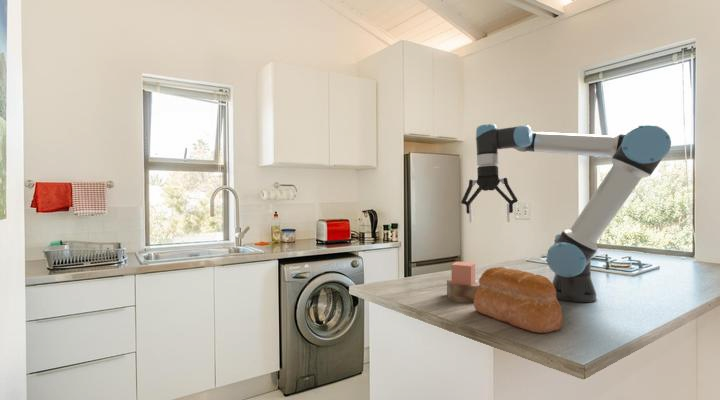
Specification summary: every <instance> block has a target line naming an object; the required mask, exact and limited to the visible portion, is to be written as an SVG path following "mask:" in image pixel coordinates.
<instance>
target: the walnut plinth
mask: <svg viewBox="0 0 720 400" xmlns="http://www.w3.org/2000/svg"><path fill="white" fill-rule="evenodd" d="M478 287H479V283H477V282H476V281H475V282H474V283H473V284H472V285H471V286H469V285H459V284H452V279H446V295H447V296H446V297H447V298H448V300H449V302H451V303H474V298H475V293H476V290H477V288H478Z"/></svg>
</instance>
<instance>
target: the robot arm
mask: <svg viewBox="0 0 720 400" xmlns="http://www.w3.org/2000/svg"><path fill="white" fill-rule="evenodd" d="M475 130H476V131H475V132H476V133H475V136H476V137H475V143H476V144H475V145H476V165H477V166H478V167H477V179H469V180H468V186H467V188H466V191H465V193H464V195H463V197H462V199H461V202H460V203H461V204H462V205H465V206H466V209H465V210H466V211H465V213H466V214H468V215H469V217H468V218H469V223H473V221H474V217H473V216H474V215H473V205H471V204H472V203H473V201H474V200H475V199H476V198H477V196H478V195H479V194H480V193H481V192H482V191H484V192H487V191H497V193H498V194H499V195H500V196H501V197H503V199H504V200H505V201H506V202H507V203H508V204H506V217H507V218H506V220H507V223H511V214H512V213H514V206H513V205H514V204H515V203H517V202H519V200H518V197H517V196H516V194H515V193H514V191H513V189H512V188H511V186H510V184H509V180H508V178H507V177H504V178H500V177H499V166H498V165H499V153H498V150H503V149H505V150H506V149H514V150H517V151H519V152H524V153H525V152H532V153H533V152H535V153H549V154H559V155H560V154H561V155H574V156H585V157H586V156H587V157H599V158H611V162H612V165H611V166H612V167H611V168H610V170H609V171H608V173H607V174H606V176H605V177H604V178H603V180H602V181H601V183H600V184H599V185H598V187H597V188H596V190H595V192H593V194H592V196H591V197H590V199H589V201H588V202H587V204H586V205H585V206H584V207H583V209H582V211H581V212H580V213H579V215H578V217H577V218H576V219H575V220H574V222H573V223H572V226H571V227H570V228H567V229H563V230H562V231H561V233H559V234H555V236H554V244H552V245H551V246H550V247H549V249H547V252H546V263H547V265H548V267H549V268H550V270H551V271H552V272H554V276H553V279H552V281H551V283H552V284H553V285H554V287H555V289H556V298H557V300H560V301H567V302H575V303H591V302H592V303H593V302H596V301H597V292H596V289H595V286H594V284H593V280H592V274H591V271H592V270H591V268H592V267H591V265H592V261H591V260H592V258H593V257H594V255H595V253H596V252H597V251H598V245H597V242H598V240H599V239H600V238H601V236H602V235H603V233H604V232H605V231H606V229H607V227H608V226H609V225H610V223H611V222H612V221H613V220H614V217H616V215H617V214H618V212H619V211H620V210H621V208H622V206H623V205H624V203H626V201H627V200H628V199H629V197H630V195H631V194H632V192H633V191H634V190H635V189H636V187H637V186H638V184H639V183H640V181H641V180H642V179H644V178H648V177H650V176H651V175H652V174H653V172H654V171H655V170H656V168H657V167H658V165H659V164H660V163H661V162H662V160H663V159H664V158H665V157H666V156H667V155H668V154H669V151H670V150H671V145H672V140H671V137H670V134H669V133H668V132H667V131H666V130H665V129H664V128H662V127H660V126H658V125H655V124H641V125H638V126H636V127H632V129H630V130H629V131H628V132H626V133H625V132H623V133H622V132H618V133H617V134H616V135H605V134H604V135H603V134H602V135H600V134H585V133H584V134H581V133H580V134H579V133H561V132H544V131H540V132H539V131H533V130H532V128H531V126H530V125H518V126H513V127H512V126H511V127H505V128H498V127H497V125H496V124H493V123H490V124H486V123H485V124H481V125H479V126H477V127H476V129H475ZM500 183H501V184H502V185H504V187H505V189H506V190H507V192H508V193H509V195H510V196H511V198H510V197H509V196H508V195H507V194H506V193H505V192H504V191H503V190H502V189H501V188H500V187H499V184H500ZM475 184H477V185H478V188H476V190H475V191H474V192H473V194H472V195H471V194H470V193H471V191H472V189H473V187H474V186H475ZM469 195H471V196H469ZM468 198H469V199H468ZM467 199H468V200H467Z"/></svg>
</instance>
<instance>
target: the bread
mask: <svg viewBox="0 0 720 400" xmlns="http://www.w3.org/2000/svg"><path fill="white" fill-rule="evenodd" d="M478 286H479V287H478V288H477V290H476V293H475V298H474V302H473V307H474V309H475V310H476V311H477V312H478V313H479V314H481V315H484V316H488V317H491V318H493V319H495V320H498V321H500V322H504V323H508V324H510V325H512V326H515V327H517V328H520V329H522V330H524V331H529V332H531V333H532V332H533V333H538V334H543V333H551V332H554V331H558V330H559V329H561V327H562V325H563V323H564V317H563V313H562V311H563V310H562V306H561V304H560V302H559V301H558V300H559V299H557V298H556V289H555V287H554V285H553V284H552V281H551V280H550V279H549V278H548V277H546V276H543V275H542V274H534V273H531V272H528V271H523V270H519V269H512V268H507V267H503V266H500V267H499V266H498V267H490V268H487V269H486V270H485V271H484V272H483V273H481V275H480V277H479V279H478Z"/></svg>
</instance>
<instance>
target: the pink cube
mask: <svg viewBox="0 0 720 400" xmlns="http://www.w3.org/2000/svg"><path fill="white" fill-rule="evenodd" d="M450 267H451V280H452V284H459V285H469V286H471V285H472V284H473V283H474V282H476V263H475V262H466V261H455V262H453V263H452V264H451V266H450Z"/></svg>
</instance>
